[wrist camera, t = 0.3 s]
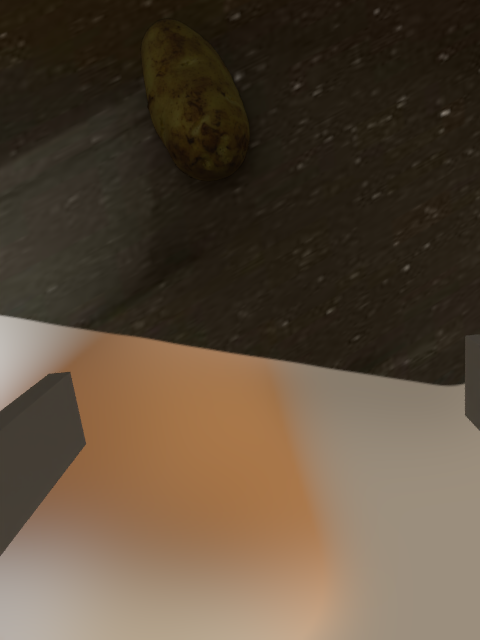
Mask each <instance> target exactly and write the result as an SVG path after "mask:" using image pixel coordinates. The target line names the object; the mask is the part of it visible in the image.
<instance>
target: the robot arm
mask: <svg viewBox="0 0 480 640" xmlns="http://www.w3.org/2000/svg"><path fill="white" fill-rule="evenodd" d="M465 415H466V416H467V418H468V419H469V420H470V421H471V422H472V423H473V424H474V425H475V426H476V427H477V428H478V429H479V430H480V335H469V336H465ZM85 445H86V442H85V437H84V433H83V428H82V424H81V419H80V414H79V411H78V405H77V401H76V397H75V392H74V387H73V383H72V378H71V374H70V372H65V373H54V374H48V375H47V376H46V377H44V378H43V379H42V380H40V381H39V382H38V383H36V384H35V385H34V386H33V387H31V388H30V389H29V390H27V391H26V392H25V393H23V394H22V395H21V396H20V397H18V398H17V399H16V400H14V401H13V402H12V403H11V404H9V405H8V406H7V407H5V408H4V409H3V410H1V411H0V556H1V554H2V553H3V552H4V551H5V549H6V548H7V547H8V545H9V544H10V543H11V541H12V540H13V539H14V537H15V536H16V535H17V534H18V532H19V531H20V530H21V528H22V527H23V525H24V524H25V523H26V522H27V520H28V519H29V518H30V517H31V515H32V514H33V513H34V511H35V510H36V509H37V507H38V506H39V505H40V503H41V502H42V501H43V500H44V498H45V497H46V496H47V494H48V493H49V492H50V490H51V489H52V488H53V486H54V485H55V484H56V483H57V481H58V480H59V479H60V477H61V476H62V475H63V473H64V472H65V471H66V469H67V468H68V467H69V466H70V464H71V463H72V462H73V460H74V459H75V458H76V456H77V455H78V454H79V452H80V451H81V450H82V449H83V447H84V446H85Z"/></svg>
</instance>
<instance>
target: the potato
mask: <svg viewBox="0 0 480 640" xmlns="http://www.w3.org/2000/svg"><path fill="white" fill-rule="evenodd" d="M141 60H142V69H143V76H144V83H145V88H146V94H147V99H148V109H149V111H150V115H151V119H152V122H153V125H154V128H155V130H156V132H157V134H158V136H159V137H160V139H161V140H162V142H163V143H164V145H165V146H166V147H167V149H168V151H169V153H170V155H171V157H172V159H173V161H174V162H175V165H177V166H178V168H179V169H180V170H181V171H182V172H183V173H185V174H186V175H188V176H189V177H191V178H195V179H198V180H202V181H215V180H220V179H223V178H226V177H228V176H230V175H232V174H233V173H234V172H235V171H236V170H237V169H238V168H239V167H240V165H241V164H242V162H243V161H244V160H245V156H246V153H247V149H248V145H249V139H250V129H249V123H248V119H247V115H246V112H245V109H244V105H243V102H242V99H241V97H240V95H239V92H238V90H237V88H236V86H235V84H234V82H233V79H232V77H231V75H230V73H229V71H228V69H227V68H226V66H225V64H224V63H223V61H222V59H221V58H220V56H219V55H218V54H217V52H216V51H215V49H214V48H213V47H212V46H211V45H210V44H209V43H208V42H207V41H206V40H205V39H204V38H203V37H202V36H200V35H199V34H198V33H196V32H195V31H193V30H192V29H191V28H189V27H188V26H186V25H185V24H183V23H181V22H179V21H177V20H174V19H162V20H159V21H157V22H156V23H154V24H153V25H152V26H151V27H150V28H149V29H148V30H147V32H146V33H145V35H144V38H143V41H142V45H141Z"/></svg>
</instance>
